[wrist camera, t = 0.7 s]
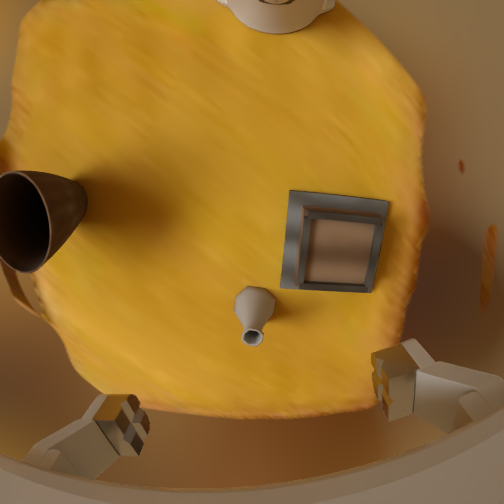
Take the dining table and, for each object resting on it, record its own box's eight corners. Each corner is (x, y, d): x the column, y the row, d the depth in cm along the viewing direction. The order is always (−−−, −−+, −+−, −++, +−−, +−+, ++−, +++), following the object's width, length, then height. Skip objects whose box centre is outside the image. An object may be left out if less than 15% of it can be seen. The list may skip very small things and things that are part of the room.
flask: (244, 279, 52) (240, 309, 42) (283, 296, 52) (286, 328, 43) (227, 312, 54) (220, 345, 44) (264, 327, 55) (263, 362, 45)
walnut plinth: (289, 190, 46) (292, 195, 41) (386, 200, 46) (398, 207, 41) (280, 285, 52) (281, 299, 47) (369, 290, 51) (378, 304, 47)
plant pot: (55, 147, 45) (-6, 156, 30) (116, 179, 46) (61, 196, 31) (36, 218, 49) (-18, 244, 34) (92, 253, 51) (42, 291, 36)
